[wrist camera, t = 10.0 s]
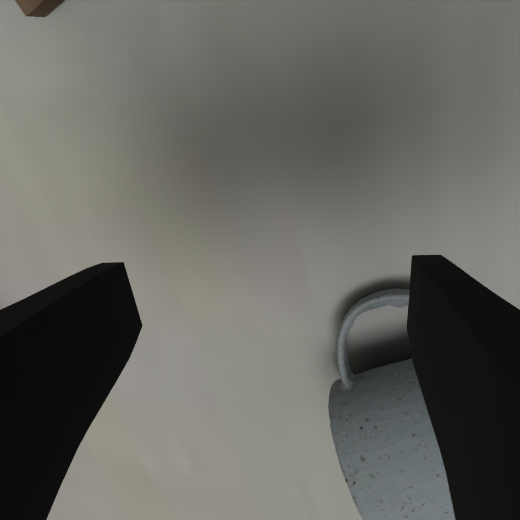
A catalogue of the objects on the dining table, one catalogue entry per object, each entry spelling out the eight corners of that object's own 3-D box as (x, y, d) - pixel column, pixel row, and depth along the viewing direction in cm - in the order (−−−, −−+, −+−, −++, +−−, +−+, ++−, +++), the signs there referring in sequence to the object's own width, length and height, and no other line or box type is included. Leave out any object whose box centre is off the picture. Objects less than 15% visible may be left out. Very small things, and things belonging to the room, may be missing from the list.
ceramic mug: (524, 404, 23) (603, 556, 16) (383, 441, 26) (400, 583, 19) (449, 250, 19) (508, 362, 13) (297, 314, 22) (280, 432, 16)
